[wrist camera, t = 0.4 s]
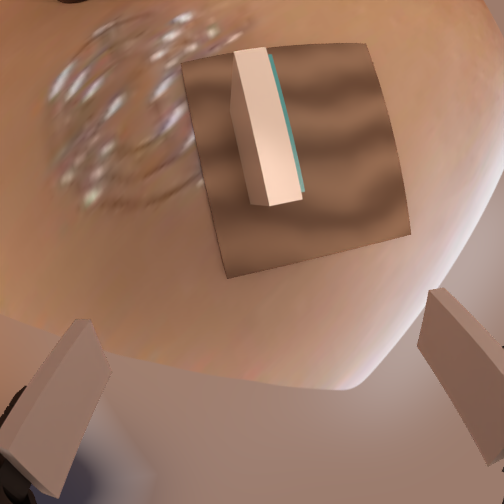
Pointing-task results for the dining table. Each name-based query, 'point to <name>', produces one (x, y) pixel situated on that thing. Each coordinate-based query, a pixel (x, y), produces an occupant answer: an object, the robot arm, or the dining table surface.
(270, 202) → the tile
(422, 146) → the dining table surface
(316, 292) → the dining table surface
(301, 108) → the board
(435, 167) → the dining table surface
